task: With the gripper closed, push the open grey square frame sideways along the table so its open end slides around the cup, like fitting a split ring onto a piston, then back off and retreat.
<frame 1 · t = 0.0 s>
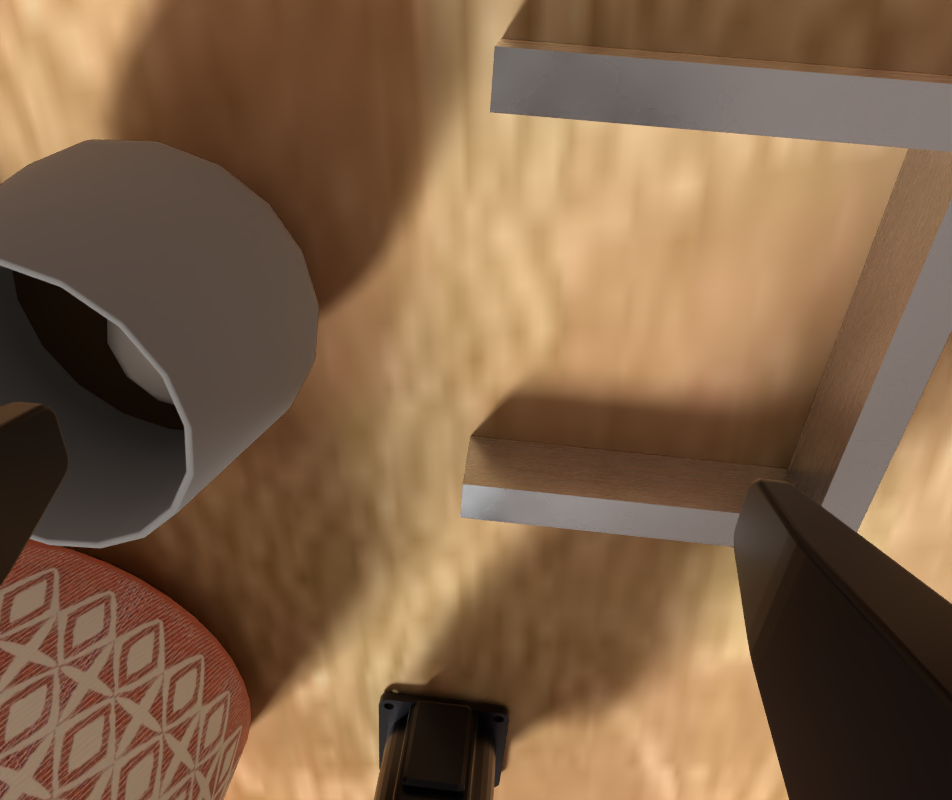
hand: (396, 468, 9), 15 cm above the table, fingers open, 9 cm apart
cup: (215, 261, 24), on the table
planter: (80, 651, 35), on the table
grey square frame: (683, 308, 23), on the table
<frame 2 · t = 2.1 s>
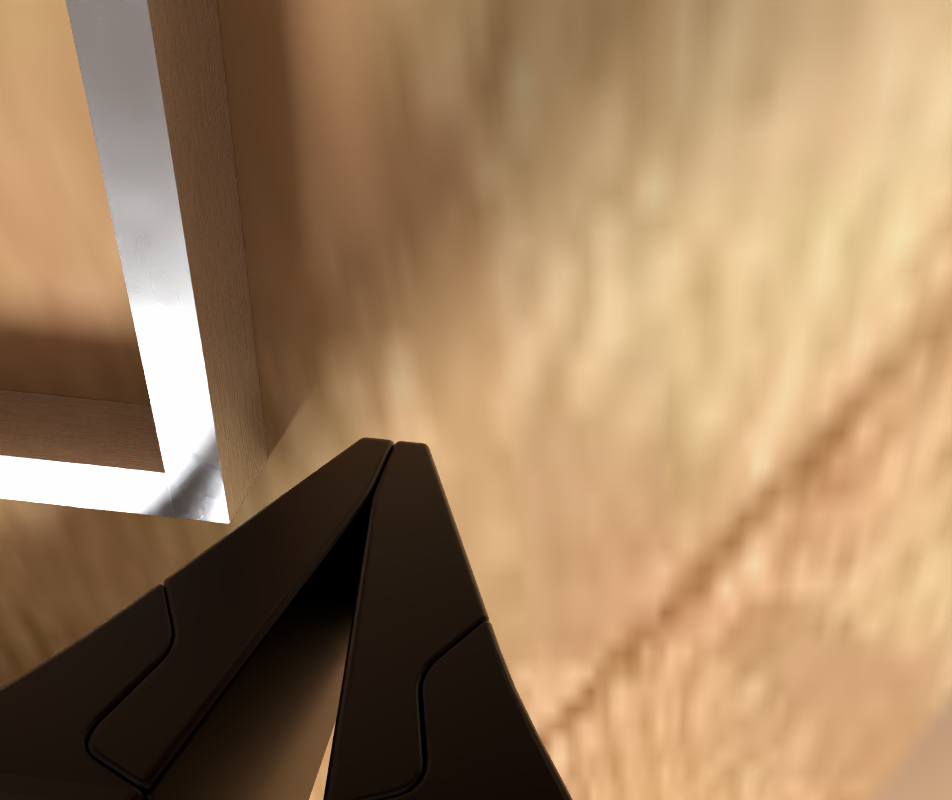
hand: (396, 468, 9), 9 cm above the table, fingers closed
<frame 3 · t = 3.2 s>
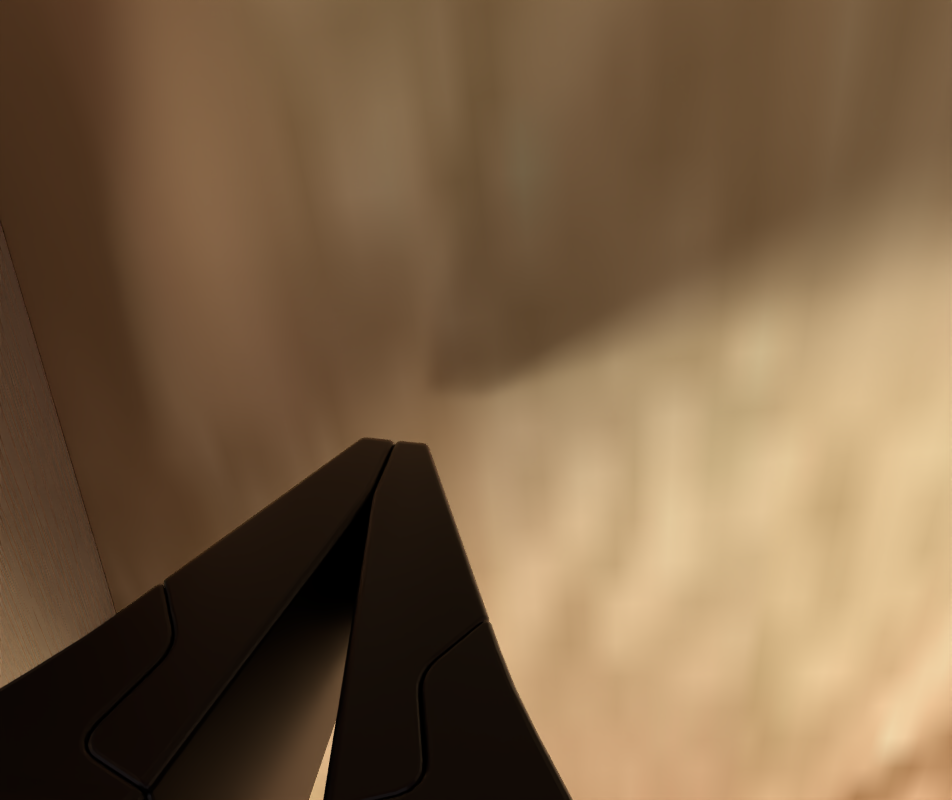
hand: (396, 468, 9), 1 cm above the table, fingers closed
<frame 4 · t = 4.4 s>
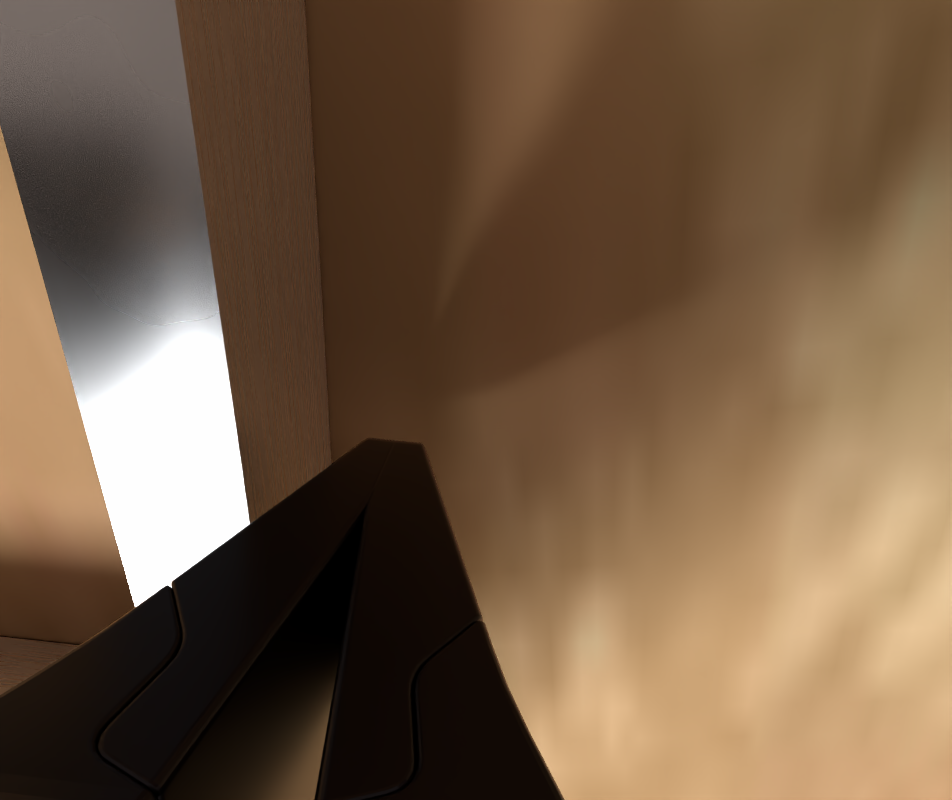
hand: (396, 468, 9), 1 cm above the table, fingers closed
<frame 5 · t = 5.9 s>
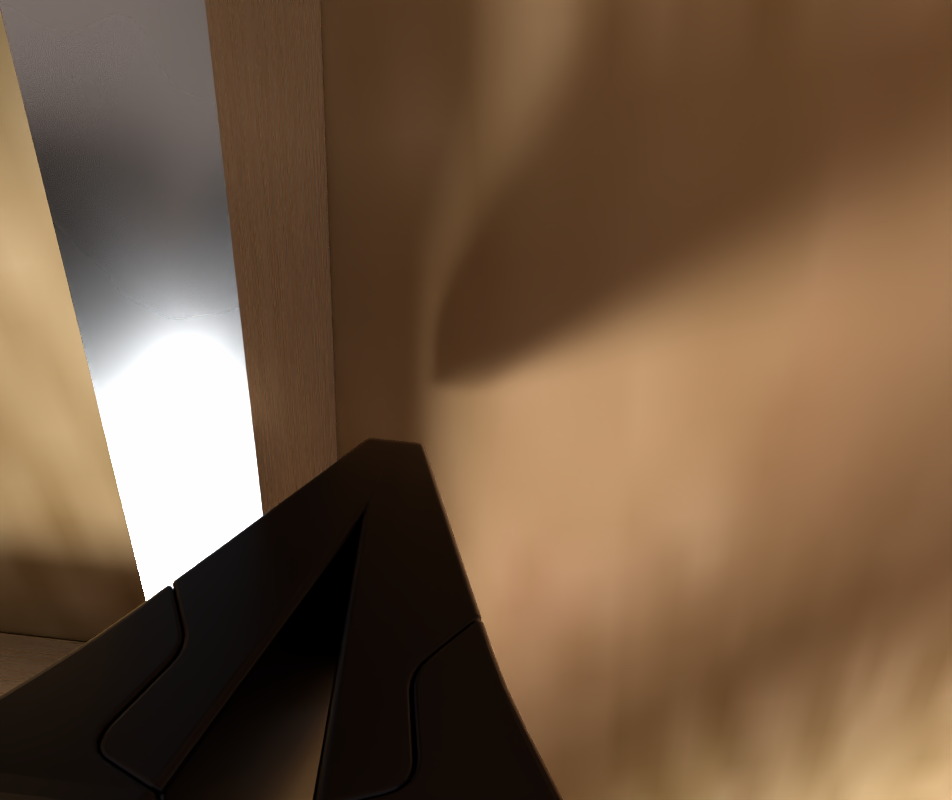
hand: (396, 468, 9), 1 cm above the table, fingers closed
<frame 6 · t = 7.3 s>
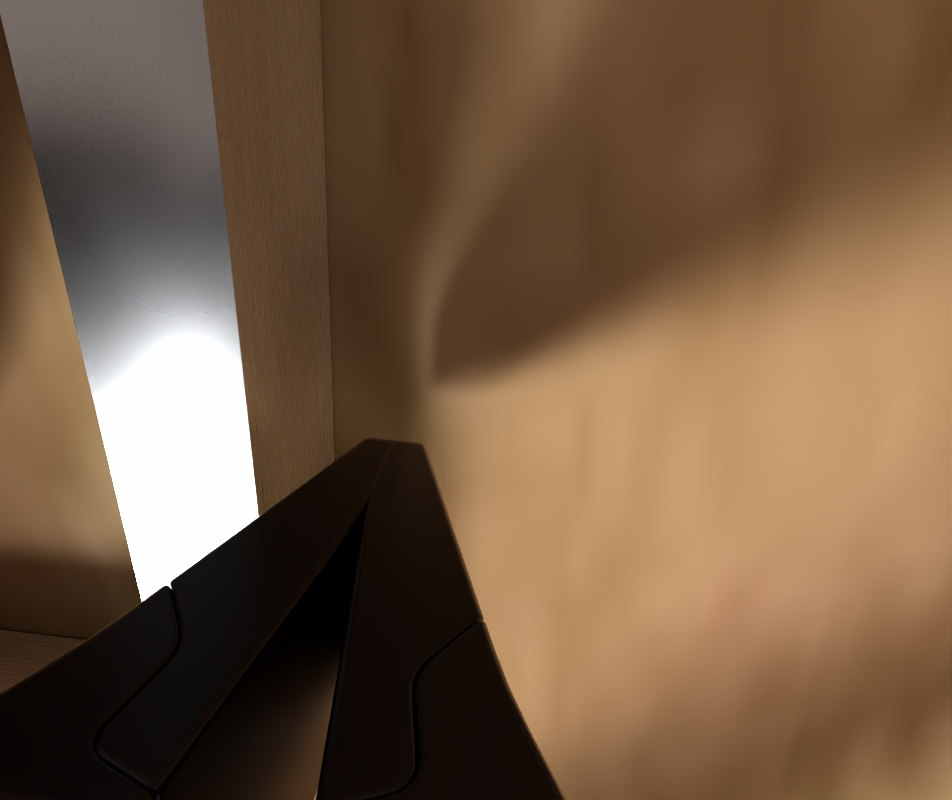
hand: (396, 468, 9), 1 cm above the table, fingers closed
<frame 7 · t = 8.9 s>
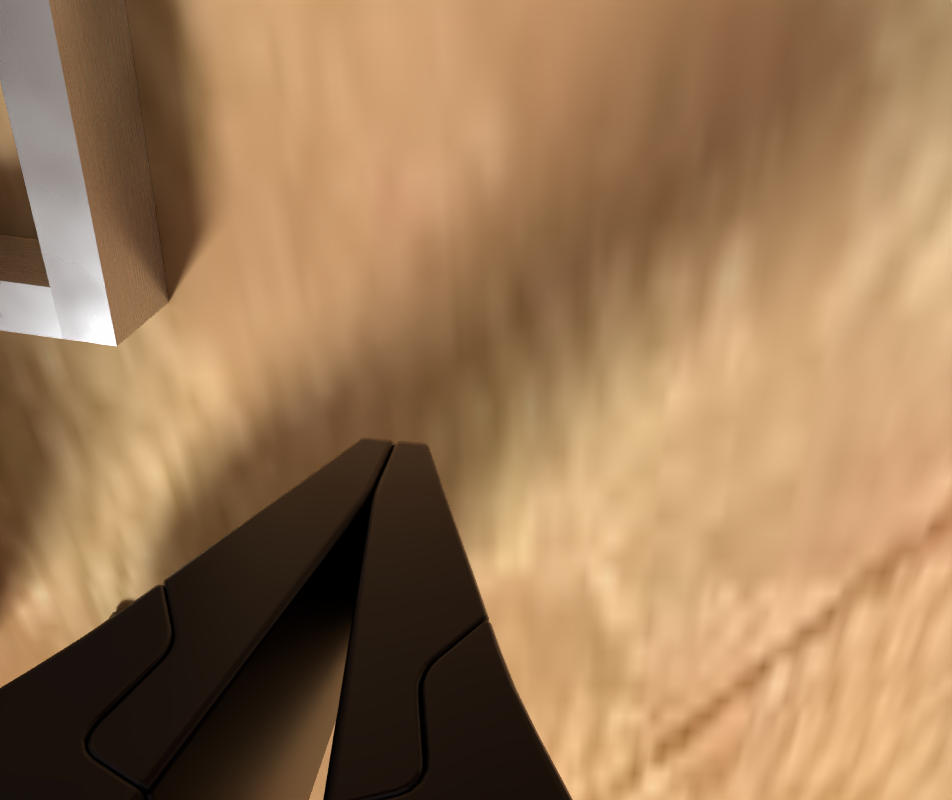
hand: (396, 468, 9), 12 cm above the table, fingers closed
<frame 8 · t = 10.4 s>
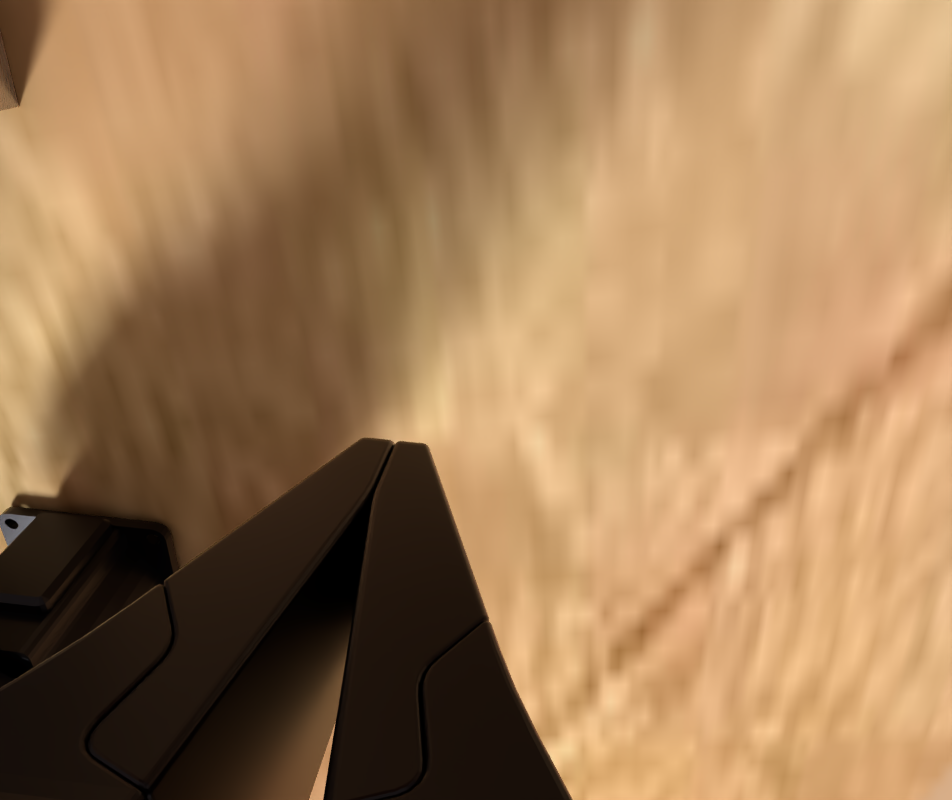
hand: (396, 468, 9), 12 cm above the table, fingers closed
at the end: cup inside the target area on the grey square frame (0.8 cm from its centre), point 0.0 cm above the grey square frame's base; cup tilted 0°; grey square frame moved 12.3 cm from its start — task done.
